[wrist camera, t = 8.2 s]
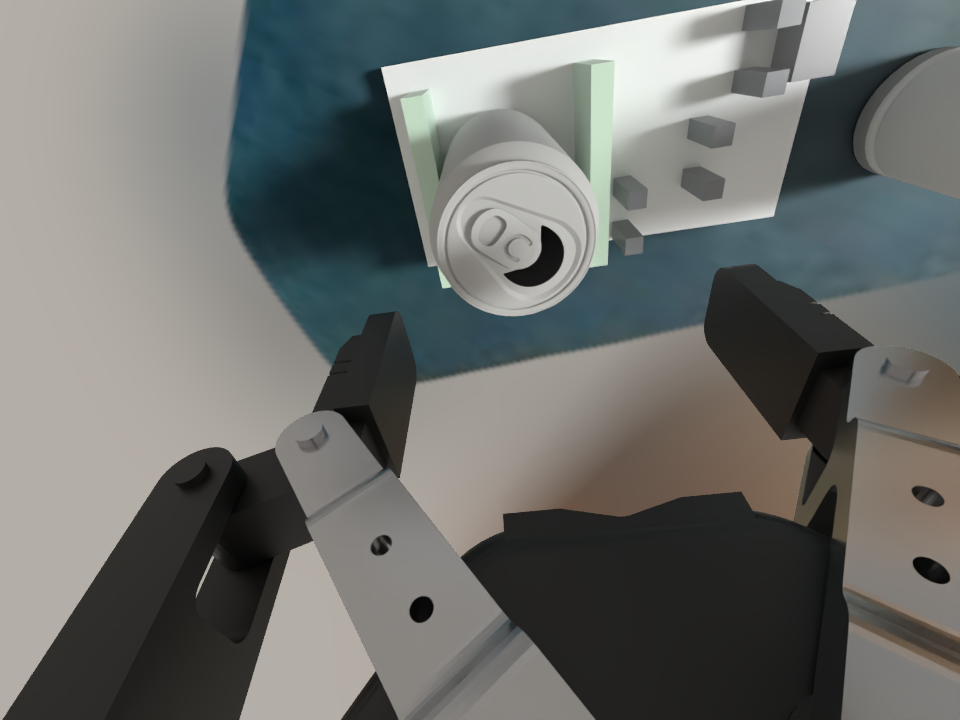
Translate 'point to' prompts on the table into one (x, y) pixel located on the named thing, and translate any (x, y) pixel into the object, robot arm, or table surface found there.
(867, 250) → the table surface
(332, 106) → the table surface
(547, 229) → the beverage can
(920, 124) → the travel mug
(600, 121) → the end holder
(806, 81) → the board
